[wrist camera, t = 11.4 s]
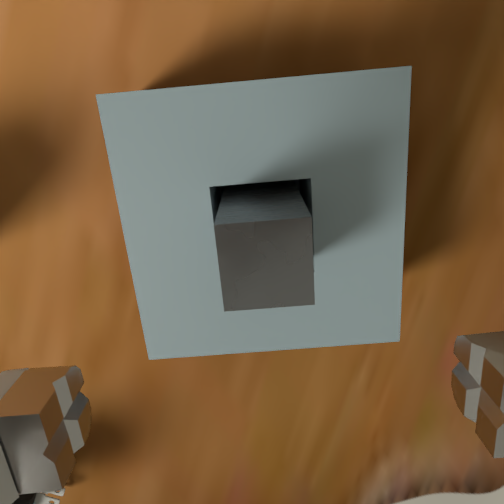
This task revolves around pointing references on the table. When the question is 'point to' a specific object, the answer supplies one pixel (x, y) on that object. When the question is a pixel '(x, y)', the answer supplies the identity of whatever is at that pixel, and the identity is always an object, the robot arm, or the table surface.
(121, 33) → the table surface
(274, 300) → the square bit
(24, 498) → the push button
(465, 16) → the table surface
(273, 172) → the socket block
